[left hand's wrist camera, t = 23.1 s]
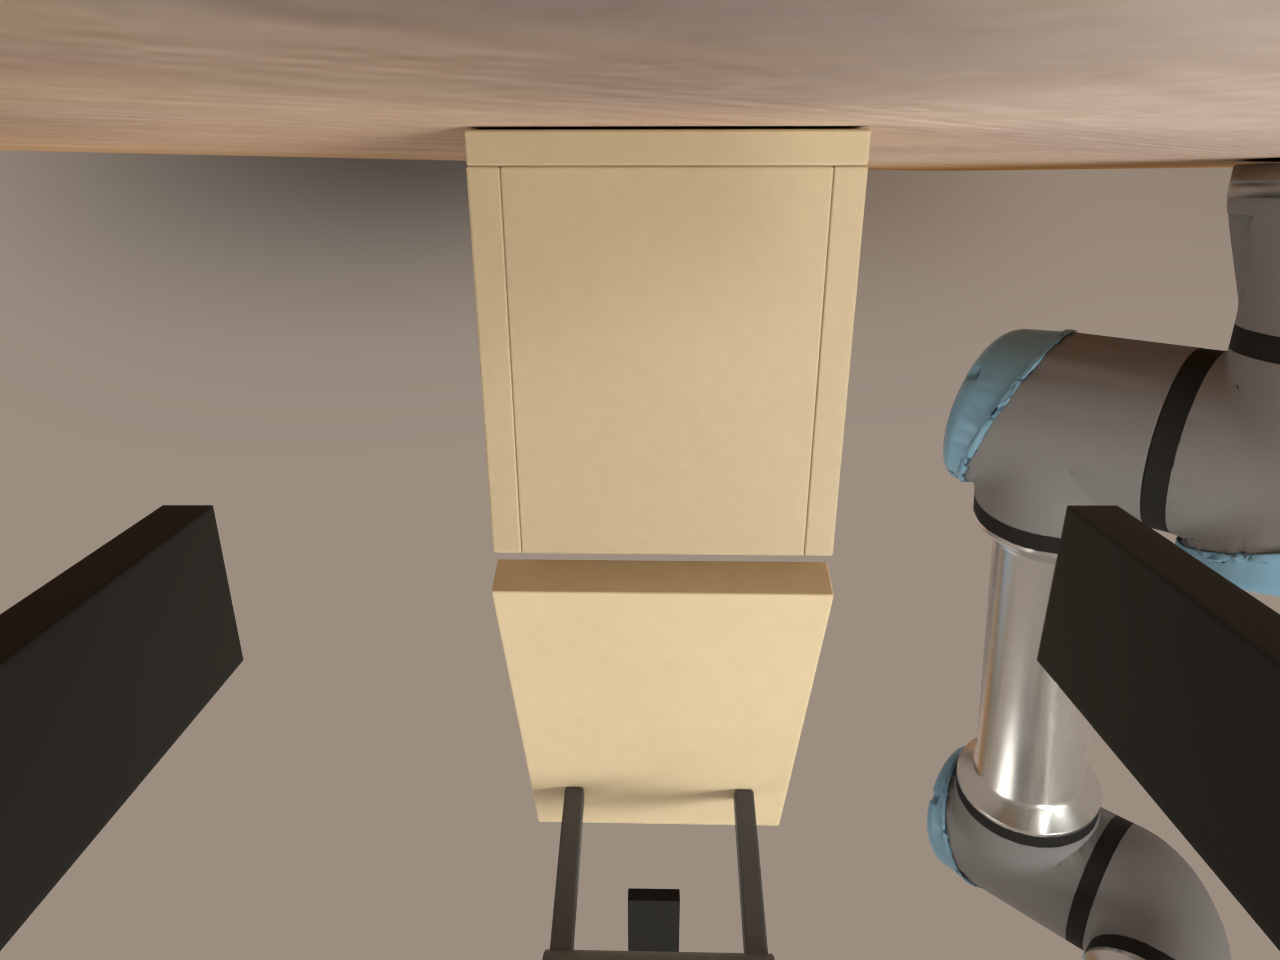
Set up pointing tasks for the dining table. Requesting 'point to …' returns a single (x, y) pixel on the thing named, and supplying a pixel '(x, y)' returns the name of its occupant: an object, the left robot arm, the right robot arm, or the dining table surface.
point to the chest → (665, 335)
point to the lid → (660, 704)
